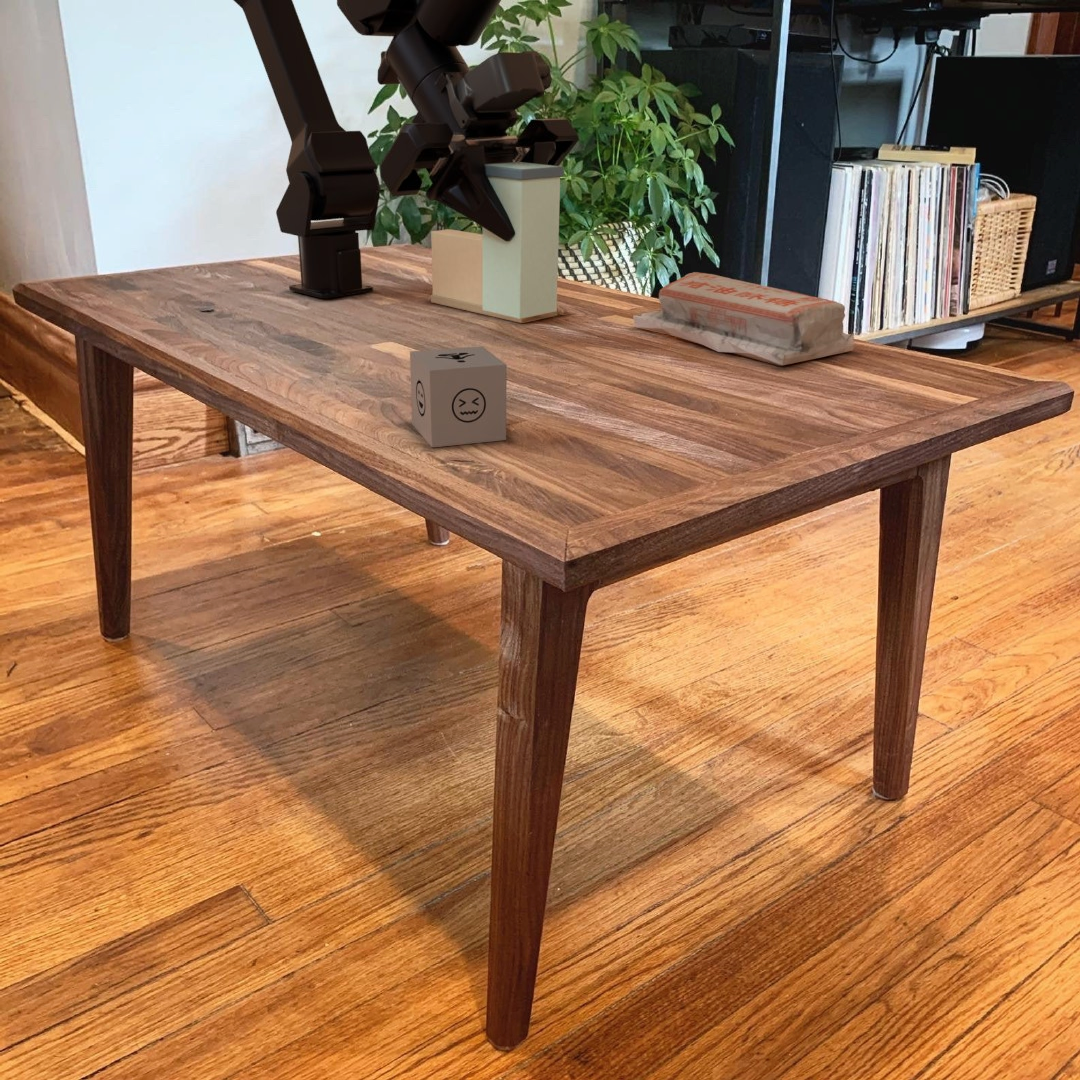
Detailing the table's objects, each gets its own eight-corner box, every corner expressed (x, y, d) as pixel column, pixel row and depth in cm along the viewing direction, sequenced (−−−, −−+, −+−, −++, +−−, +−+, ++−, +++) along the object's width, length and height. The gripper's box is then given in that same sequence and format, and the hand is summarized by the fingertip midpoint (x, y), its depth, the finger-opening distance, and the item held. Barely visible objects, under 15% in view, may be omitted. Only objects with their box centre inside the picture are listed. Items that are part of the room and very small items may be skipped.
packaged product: (865, 296, 91) (789, 311, 85) (857, 352, 93) (782, 370, 87) (709, 265, 104) (633, 276, 98) (705, 315, 106) (630, 328, 100)
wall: (430, 302, 109) (428, 231, 107) (466, 295, 113) (466, 227, 110) (521, 323, 101) (522, 247, 98) (557, 315, 105) (559, 241, 102)
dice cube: (482, 417, 74) (482, 346, 72) (506, 439, 70) (506, 364, 68) (412, 424, 73) (409, 351, 71) (431, 447, 68) (429, 370, 66)
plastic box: (479, 310, 94) (478, 164, 89) (519, 302, 97) (521, 161, 92) (519, 320, 90) (521, 169, 86) (560, 311, 94) (564, 166, 89)
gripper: (397, 8, 80) (500, 176, 78) (566, 18, 93) (659, 163, 90) (339, 116, 89) (430, 271, 86) (502, 112, 101) (585, 247, 99)
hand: (531, 235), depth 90 cm, fingers closed on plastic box, 4 cm apart
